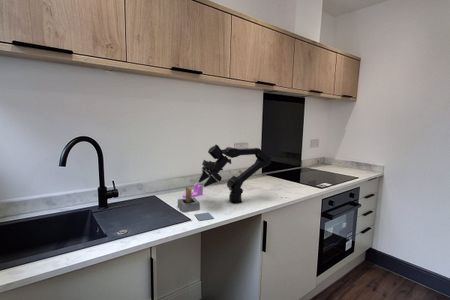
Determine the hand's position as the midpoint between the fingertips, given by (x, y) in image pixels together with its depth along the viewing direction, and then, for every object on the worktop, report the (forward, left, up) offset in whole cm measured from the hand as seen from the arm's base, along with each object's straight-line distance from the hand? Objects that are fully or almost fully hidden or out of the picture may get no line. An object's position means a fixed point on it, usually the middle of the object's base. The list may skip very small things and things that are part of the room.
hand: (201, 184), depth 140 cm
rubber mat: (+4, +15, -13) cm, 20 cm away
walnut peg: (+8, 0, -13) cm, 15 cm away
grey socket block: (+8, 0, -13) cm, 15 cm away
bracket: (-1, -20, -14) cm, 24 cm away
